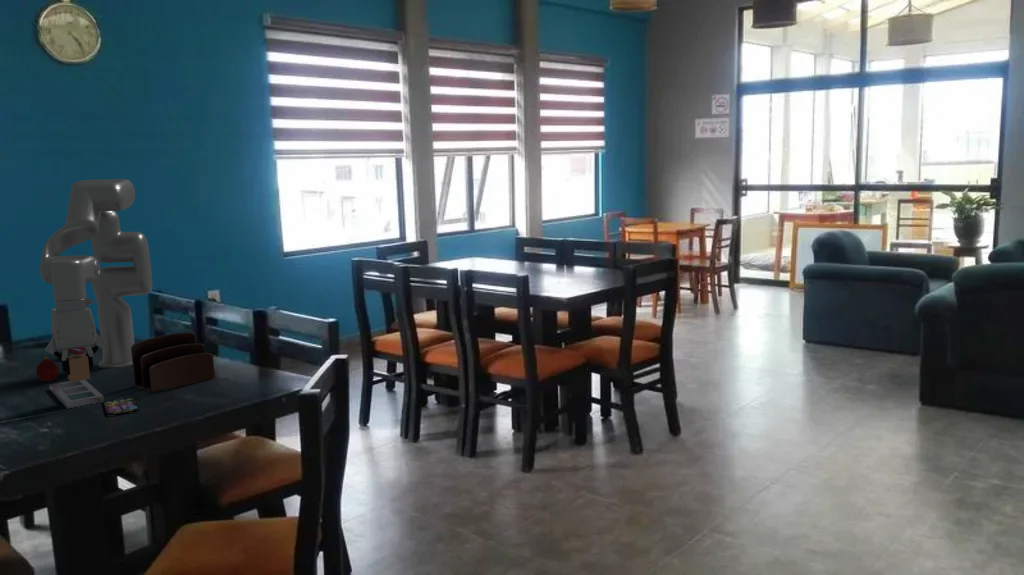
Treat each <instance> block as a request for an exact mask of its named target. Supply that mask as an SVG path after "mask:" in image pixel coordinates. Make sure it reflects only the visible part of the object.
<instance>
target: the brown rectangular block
mask: <svg viewBox="0 0 1024 575" xmlns="http://www.w3.org/2000/svg"><path fill="white" fill-rule="evenodd" d="M67 358H68V361H69V367H70V375H67V379H68V380H69V381H71V382H74V381H80V380H86V381H87V380H90V379H91V373H90V371H89V362H88V357H87V356H86V353H84V354H83V355H72V356H71V355H69V356H67Z"/></svg>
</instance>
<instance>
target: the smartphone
mask: <svg viewBox="0 0 1024 575" xmlns="http://www.w3.org/2000/svg"><path fill="white" fill-rule="evenodd" d="M103 402H104V403H103V406H105V407H104V411H106V413H105V415H106V416H107V415H117V414H124V413H129V412H136V411H139V412H140V407H139V406H138V405H139V404H138V403H137V399H136V398H135V397H134V396H127V397H121V398H117V399H111V400H110V399H109V400H104V401H103ZM136 413H137V412H136ZM124 415H125V414H124Z"/></svg>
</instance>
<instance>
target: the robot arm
mask: <svg viewBox="0 0 1024 575" xmlns="http://www.w3.org/2000/svg"><path fill="white" fill-rule="evenodd" d="M70 188H71V190H70V193H69V199H68V200H69V201H68V206H67V214H66V220H65V224H64V225H62V227H60V228H59V229H57V230H56V231H55V232H54V233H53V234H52V235H51V236H50V237H49V238H48V239H47V240H46V242H45V243H44V246H43V248H42V252H41V258H40V266H39V271H40V272H39V273H40V277H41V279H42V280H43V281H44V282H45V283H46V284H49V285H52V289H53V298H54V299H53V300H54V309H56V311H55V312H52V314H51V337H52V338H51V340H49V343H48V345H47V346H46V347H45V349H44V350H45V352H47V353H49V354H50V355H53V356H55V357H57V358H59V360H61V369H62V372H63V373H65V375H66V376H68V375H70V367H69V361H68V358H67V357H68V354H69V353H68V349H72V348H79V347H84V348H85V351H84V352H85V355H86V356H87V357H88V362H89V371H90V372H92V368H94V359H93V357H94V355H95V354H96V352H97V351H98V350H99V349H101V351H102V360H100V361H99V362H98V363H97V364H98V367H99V368H100V369H110V368H121V367H122V368H123V367H128V366H129V367H133V363H132V353H131V347H132V345H133V344H135V335H134V334H135V333H134V325H133V315H132V309H131V306H130V305H129V304H128V303H127V301H125V299H124V298H123V297H130V296H143V295H148V294H149V293H151V291H152V290H153V281H154V280H153V273H152V265H151V263H152V262H151V257H150V256H151V255H150V249H149V243H148V239H147V237H146V236H145V235H144V233H142V232H141V231H122V230H121V223H120V217H119V215H118V213H117V212H120V211H125V210H127V209H128V208H130V207H131V206H132V205H133V204H134V202H135V199H136V190H135V186H134V184H133V182H131V181H130V180H129V179H125V178H121V179H120V178H114V179H112V178H110V179H84V180H79V181H76V182H74V183H73V184H72V185H71V186H70ZM90 239H91V246H92V247H91V248H92V254H93V256H92V255H84V254H83V255H82V254H81V255H61V254H62V253H64V251H66V250H68V249H70V248H71V247H74V246H76V245H79V244H81V243H84V242H86V241H88V240H89V241H90ZM100 263H104V264H115V263H116V264H117V263H118V264H119V263H132V264H133V265H117V266H115V265H114V266H104V267H101V265H100ZM87 283H91V287H92V289H93V293H94V296H95V300H96V305H97V313H98V314H97V315H98V323H99V332H100V333H97V330H96V326H95V321H94V316H93V313H92V310H91V308H90V307H89V305H93V304H94V300H93V298H88V297H87V292H86V291H87V290H86V284H87ZM99 334H100V335H99ZM54 348H56V349H57V350H55V349H54ZM58 350H60V351H58Z"/></svg>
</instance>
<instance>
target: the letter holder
mask: <svg viewBox="0 0 1024 575" xmlns="http://www.w3.org/2000/svg"><path fill="white" fill-rule="evenodd" d="M196 336H197V335H196V333H195V332H178V333H177V332H176V333H170V334H163V335H159V336H154V337H151V338H148V339H143V340H141V341H138V342H134V344H133V345H132V347H131V353H132V363H133V366H132V371H133V382H134V384H133V385H134V388H135V387H136V388H137V389H141V390H145V391H148V392H150V393H153V394H156V393H155V392H157V393H161V392H160V391H164V390H165V391H168V390H167V389H169V390H172V388H173V389H177V388H181V387H184V386H189V384H190V385H193V383H194V384H197V382H198V383H201V381H202V382H205V380H206V381H209V379H210V380H214V379H216V371H215V363H214V362H215V361H214V355H213V354H212V353H211V352H205V345H204V344H203V343H197V337H196Z"/></svg>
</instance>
